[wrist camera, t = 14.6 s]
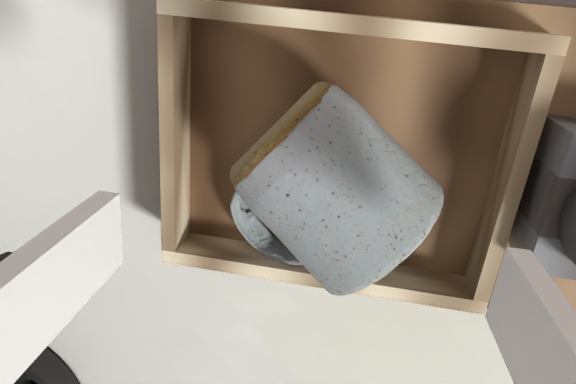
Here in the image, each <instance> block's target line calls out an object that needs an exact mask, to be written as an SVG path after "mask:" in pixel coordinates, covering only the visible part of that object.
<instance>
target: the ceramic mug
mask: <svg viewBox="0 0 576 384" xmlns="http://www.w3.org/2000/svg"><path fill="white" fill-rule="evenodd" d="M230 180H231V183H232V185H233V187H234V189H235V190H236V191H235V193H234V194H233V197H232V200H231V204H230V208H231V214H232V218H233V220H234V223H235V225H236V226H237V228H238V230H239V231H240V233H241V234H242V235H243V237H244V238H245V239H246V240H247V241H248V242H249V244H250V245H251V246H253V247H254V248H255V249H256V250H257V251H259V252H260V253H261V254H263V255H264V256H266V257H268V258H270V259H272V260H274V261H277V262H279V263H284V264H289V265H303V266H304V267H305V268H306V269H307V270H308V271H309V272H310V273H311V275H312V276H313V277H314V278H315V279H316V280H317V281H318V282H319V283H320V284H321V285H322V286H323V287H324V288H325V289H326V290H327V291H328V292H330V293H331V294H334V295H348V294H351V293H354V292H357V291H360V290H362V289H365V288H367V287H368V286H370V285H372V284H373V283H375V282H377V281H378V280H380V279H381V278H383V277H384V276H386V275H387V274H388V273H390V272H391V271H392V270H393V269H394V268H395V267H396V266H398V265H399V264H400V263H401V262H402V261H404V260H405V259H406V258H407V257H408V256H409V255H410V254H411V253H412V252H413V251H414V250H415V249H416V248H417V247H418V246H419V245H420V244H421V243H422V242H423V240H424V239H425V238H426V236H427V235H428V234H429V232H430V230H431V229H432V227H433V225H434V224H435V222H436V221H437V219H438V217H439V215H440V213H441V209H442V206H443V200H444V194H443V191H442V188H441V186H440V185H439V184H438V183H437V182H436V181H435V180H434V178H433V177H432V176H430V175H429V174H428V173H427V172H426V171H425V170H424V169H423V168H422V167H421V166H420V165H419V164H418V163H417V162H416V161H415V160H414V159H413V158H412V157H411V156H410V155H409V154H408V153H407V152H406V151H405V149H404V148H403V147H402V146H401V145H400V144H399V143H398V142H397V141H396V140H395V139H394V138H393V137H392V136H391V135H389V134H388V133H387V132H386V131H385V130H384V129H383V128H382V127H381V126H380V125H379V124H378V123H377V122H376V120H375V119H374V118H373V117H372V116H371V115H370V114H369V113H368V112H367V111H366V110H365V109H364V108H363V107H362V106H361V105H360V104H359V103H358V102H357V101H356V100H355V99H354V98H353V97H351V96H350V95H349V94H347V93H346V92H345V91H343V90H342V89H341V88H339V87H338V86H337V85H335V84H333V83H331V82H317V83H315V84H314V85H313V86H312V87H311V88H310V89H309V90H308V91H307V92H306V93H305V94H304V95H303V96H302V97H301V98H300V99H299V100H298V101H297V102H296V103H295V104H294V105H293V106H292V107H291V108H290V109H289V110H288V111H287V112H286V113H285V114H284V115H283V116H282V117H281V118H280V119H279V120H278V121H277V122H276V123H275V124H274V125H273V126H272V127H271V128H270V129H269V130H268V131H267V132H266V133H265V134H264V135H263V136H262V137H261V138H260V139H259V140H258V141H257V142H256V143H255V144H254V145H253V146H252V147H251V148H250V149H249V150H248V151H247V152H246V153H245V154H244V155H243V156H242V157H241V158H240V159H239V160H238V161H237V162H236V163H235V164H234V165H233V166H232V168H231V171H230ZM256 216H257V217H258V218H259V219H260V220H261V221H262V222H263V223H264V224H265V225H266V226H267V227H268V228H269V229H270V230H271V231H272V232H273V233H274V234H275V235H276V236H277V237H278V238H277V237H275V236H274V235H273V234H271V233H270V232H269V231H268V230H267V228H266V227H265V226H264V225H263V224H262V222H261V221H260V220H259V219H258V218H257V217H256Z"/></svg>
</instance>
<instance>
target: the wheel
mask: <svg viewBox="0 0 576 384" xmlns="http://www.w3.org/2000/svg"><path fill="white" fill-rule="evenodd" d="M559 236H560V241H561V244H562V246H563V249H564V250H565V252H566V254H567V255H568V257H569V258H570V259H571V260H572V262H573V263H574V264H575V265H576V189H575V190H574V191H573V192H572V194H571V195H570V196H569V198H568V200H567V201H566V203H565V205H564V207H563V210H562V212H561V216H560V221H559Z"/></svg>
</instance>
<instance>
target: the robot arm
mask: <svg viewBox="0 0 576 384" xmlns="http://www.w3.org/2000/svg"><path fill="white" fill-rule="evenodd" d="M122 263H123V245H122V226H121V208H120V194H119V193H112V192H104V191H98V192H96V193H95V194H94V195H92V196H91V197H89V198H88V199H87V200H85V201H84V202H83V203H81V204H80V205H78V206H77V207H76V208H74V209H73V210H71V211H70V212H69V213H67V214H66V215H65V216H63V217H62V218H60V219H59V220H58V221H56V222H55V223H53V224H52V225H51V226H49V227H48V228H47V229H45V230H44V231H42V232H41V233H40V234H38V235H37V236H35V237H34V238H33V239H31V240H30V241H29V242H27V243H26V244H24V245H23V246H22V247H20V248H19V249H17V250H16V251H15V252H6V253H3V254H1V255H0V384H80V383H79V382H78V380H77V379H76V377H75V376H74V374H73V373H72V372H71V370H70V369H69V368H68V367H67V366H66V365H65V364H64V363H63V362H62V361H61V360H60V359H59V358H58V357H57V356H56V355H55V354H54V353H52V352H51V351H50V350H49V349H47V348H46V347H47V346H48V345H49V344H50V343H51V342H52V340H53V339H54V338H55V337H56V336H57V335H58V334H59V333H60V332H61V331H62V329H63V328H64V327H65V326H66V325H67V324H68V323H69V322H70V321H71V319H72V318H73V317H74V316H75V315H76V314H77V313H78V312H79V311H80V309H81V308H82V307H83V306H84V305H85V304H86V303H87V302H88V301H89V299H90V298H91V297H92V296H93V295H94V294H95V293H96V292H97V291H98V289H99V288H100V287H101V286H102V285H103V284H104V283H105V282H106V281H107V279H108V278H109V277H110V276H111V275H112V274H113V273H114V272H115V271H116V269H117V268H118V267H119V266H120V265H121V264H122ZM485 317H486V319H487V322H488V324H489V326H490V329H491V331H492V333H493V336H494V338H495V340H496V343H497V345H498V347H499V350H500V352H501V354H502V357H503V359H504V361H505V364H506V366H507V368H508V371H509V373H510V375H511V377H512V380H513V382H514V384H576V311H575V309H574V308H573V307H572V305H571V304H570V303H569V301H568V300H567V298H566V297H565V296H564V294H563V293H562V292H561V290H560V289H559V288H558V286H557V285H556V284H555V282H554V281H553V279H552V278H551V277H550V275H549V274H548V273H547V271H546V270H545V269H544V267H543V266H542V264H541V263H540V262H539V260H538V259H537V258H536V256H535V255H534V254H533V252H532V251H531V250H525V249H518V248H511V247H506V251H505V254H504V257H503V260H502V264H501V267H500V270H499V273H498V277H497V280H496V283H495V286H494V290H493V293H492V296H491V299H490V303H489V306H488V309H487V312H486V316H485Z"/></svg>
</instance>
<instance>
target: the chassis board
mask: <svg viewBox="0 0 576 384" xmlns="http://www.w3.org/2000/svg"><path fill="white" fill-rule="evenodd" d="M156 8H157V55H158V102H159V149H160V195H161V242H162V262H166V263H172V264H178V265H184V266H191V267H197V268H203V269H209V270H215V271H221V272H227V273H233V274H239V275H245V276H251V277H258V278H264V279H270V280H276V281H282V282H288V283H294V284H300V285H306V286H312V287H319V288H324V287H323V286H322V285H321V284H320V283H319V282H318V281H317V280H316V279H315V278H314V277H313V276H312V275H311V273H310V272H309V271H308V270H307V269H306V268H305V267H304V266H303V265H289V264H284V263H279V262H277V261H274V260H272V259H270V258H268V257H266V256H264V255H263V254H261V253H260V252H259V251H257V250H256V249H255V248H254V247H253V246H251V245H250V244H249V242H248V241H247V240H246V239H245V238H244V237H243V235H242V234H241V233H240V231H239V230H238V228H237V226H236V225H235V223H234V220H233V218H232V214H231V208H230V204H231V200H232V197H233V194H234V193H235V191H236V190H235V189H234V187H233V185H232V183H231V180H230V171H231V168H232V166H233V165H234V164H235V163H236V162H237V161H238V160H239V159H240V158H241V157H242V156H243V155H244V154H245V153H246V152H247V151H248V150H249V149H250V148H251V147H252V146H253V145H254V144H255V143H256V142H257V141H258V140H259V139H260V138H261V137H262V136H263V135H264V134H265V133H266V132H267V131H268V130H269V129H270V128H271V127H272V126H273V125H274V124H275V123H276V122H277V121H278V120H279V119H280V118H281V117H282V116H283V115H284V114H285V113H286V112H287V111H288V110H289V109H290V108H291V107H292V106H293V105H294V104H295V103H296V102H297V101H298V100H299V99H300V98H301V97H302V96H303V95H304V94H305V93H306V92H307V91H308V90H309V89H310V88H311V87H312V86H313V85H314V84H315V83H317V82H331V83H333V84H335V85H337V86H338V87H339V88H341V89H342V90H343V91H345V92H346V93H347V94H349V95H350V96H351V97H353V98H354V99H355V100H356V101H357V102H358V103H359V104H360V105H361V106H362V107H363V108H364V109H365V110H366V111H367V112H368V113H369V114H370V115H371V116H372V117H373V118H374V119H375V120H376V122H377V123H378V124H379V125H380V126H381V127H382V128H383V129H384V130H385V131H386V132H387V133H388V134H389V135H391V136H392V137H393V138H394V139H395V140H396V141H397V142H398V143H399V144H400V145H401V146H402V147H403V148H404V149H405V151H406V152H407V153H408V154H409V155H410V156H411V157H412V158H413V159H414V160H415V161H416V162H417V163H418V164H419V165H420V166H421V167H422V168H423V169H424V170H425V171H426V172H427V173H428V174H429V175H430V176H432V177H433V178H434V180H435V181H436V182H437V183H438V184H439V185H440V186H441V188H442V191H443V194H444V200H443V206H442V209H441V213H440V215H439V217H438V219H437V221H436V222H435V224H434V225H433V227H432V229H431V230H430V232H429V234H428V235H427V236H426V238H425V239H424V240H423V242H422V243H421V244H420V245H419V246H418V247H417V248H416V249H415V250H414V251H413V252H412V253H411V254H410V255H409V256H408V257H407V258H406V259H405V260H404V261H402V262H401V263H400V264H399V265H398V266H396V267H395V268H394V269H393V270H392V271H391V272H390V273H388V274H387V275H386V276H384V277H383V278H381V279H380V280H378V281H377V282H375V283H373V284H372V285H370V286H368V287H367V288H365V289H362V290H360V291H357V292H354V293H355V294H361V295H367V296H373V297H379V298H386V299H392V300H398V301H404V302H410V303H416V304H422V305H428V306H434V307H440V308H446V309H453V310H459V311H465V312H471V313H477V314H483V315H485V312H486V309H487V308H488V306H489V303H490V299H491V296H492V293H493V290H494V286H495V283H496V280H497V277H498V273H499V270H500V267H501V264H502V260H503V257H504V254H505V251H506V247H511V248H518V249H525V250H531V251H532V252H533V254H534V255H535V256H536V258H537V259H538V260H539V262H540V263H541V264H542V266H543V267H544V269H545V270H546V271H547V273H548V274H549V275H550V277H551V278H552V279H553V281H554V282H555V284H556V285H557V286H558V288H559V289H560V290H561V292H562V293H563V294H564V296H565V297H566V298H567V300H568V301H569V303H570V304H571V305H572V307H573V308H574V309H575V311H576V265H575V264H574V263H573V262H572V260H571V259H570V258H569V257H568V255H567V254H566V252H565V250H564V249H563V246H562V244H561V241H560V236H559V221H560V216H561V212H562V210H563V207H564V205H565V203H566V201H567V200H568V198H569V196H570V195H571V194H572V192H573V191H574V190H575V189H576V8H571V7H560V6H550V5H539V4H528V3H517V2H507V1H496V0H156ZM256 217H257V216H256ZM257 218H258V217H257ZM258 219H259V218H258ZM259 220H260V219H259ZM260 221H261V220H260ZM261 222H262V221H261ZM262 224H263V225H264V226H265V227H266V228H267V230H268V231H269V232H270V233H271V234H273V235H274V236H275V237H277V236H276V235H275V234H274V233H273V232H272V231H271V230H270V229H269V228H268V227H267V226H266V225H265V224H264V223H263V222H262ZM277 238H278V237H277Z"/></svg>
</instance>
